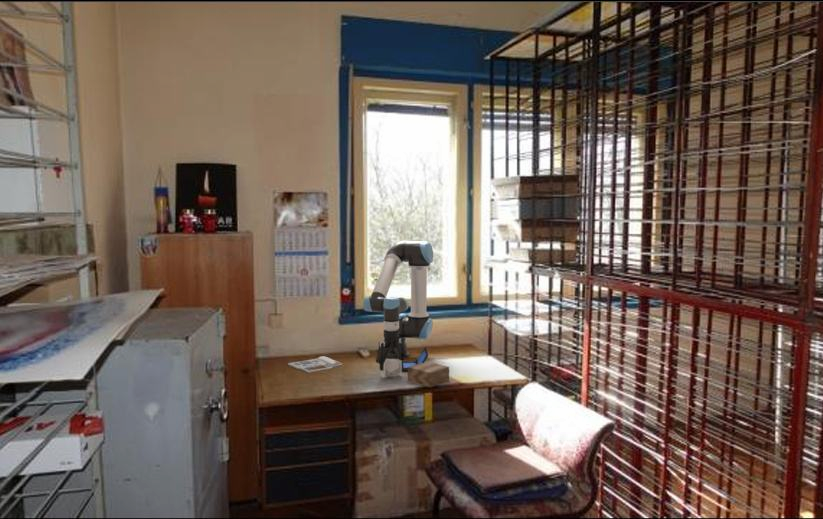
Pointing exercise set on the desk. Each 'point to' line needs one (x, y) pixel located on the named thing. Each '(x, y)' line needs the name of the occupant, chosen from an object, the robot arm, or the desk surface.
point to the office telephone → (315, 364)
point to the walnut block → (428, 374)
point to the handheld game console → (418, 361)
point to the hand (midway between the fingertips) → (391, 374)
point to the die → (391, 367)
